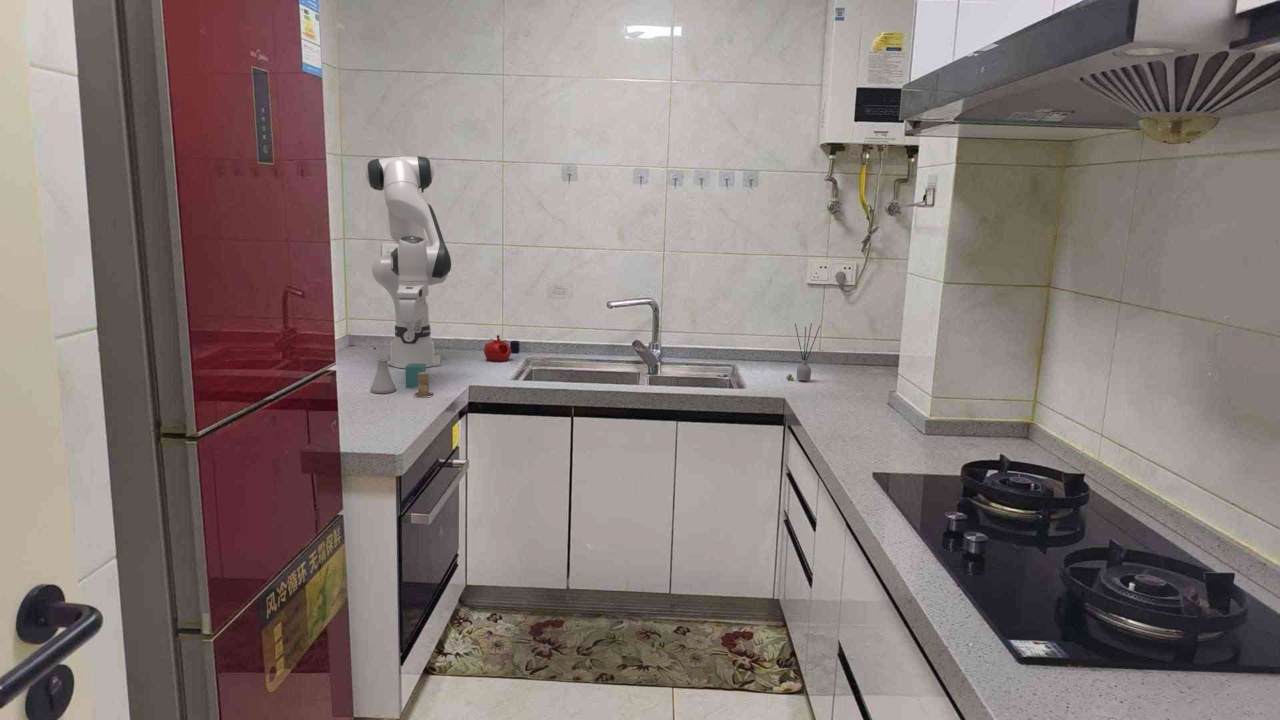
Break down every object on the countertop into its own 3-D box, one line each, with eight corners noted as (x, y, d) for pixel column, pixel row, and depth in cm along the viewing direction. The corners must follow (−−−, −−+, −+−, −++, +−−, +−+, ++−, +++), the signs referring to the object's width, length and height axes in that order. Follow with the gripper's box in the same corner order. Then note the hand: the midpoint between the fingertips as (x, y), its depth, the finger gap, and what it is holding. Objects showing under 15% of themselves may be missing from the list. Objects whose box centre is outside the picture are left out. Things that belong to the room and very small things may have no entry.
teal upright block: (409, 383, 264) (409, 363, 262) (426, 384, 264) (425, 363, 263) (405, 387, 259) (405, 366, 257) (422, 387, 259) (422, 366, 258)
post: (417, 393, 251) (416, 371, 250) (433, 393, 251) (433, 371, 250) (413, 397, 246) (412, 374, 245) (430, 397, 246) (429, 374, 245)
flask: (365, 392, 251) (364, 359, 249) (383, 387, 257) (382, 356, 256) (383, 395, 248) (382, 362, 246) (401, 390, 254) (400, 358, 252)
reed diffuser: (816, 380, 285) (820, 322, 281) (817, 384, 278) (821, 325, 275) (786, 378, 287) (789, 321, 283) (786, 382, 280) (789, 323, 276)
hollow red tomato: (479, 361, 303) (479, 336, 301) (490, 357, 312) (490, 332, 311) (505, 363, 301) (504, 338, 299) (515, 358, 310) (515, 334, 308)
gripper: (410, 286, 266) (412, 329, 268) (395, 292, 246) (396, 339, 248) (430, 287, 266) (431, 329, 268) (416, 293, 246) (418, 339, 248)
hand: (414, 334), depth 258 cm, fingers open, 8 cm apart
